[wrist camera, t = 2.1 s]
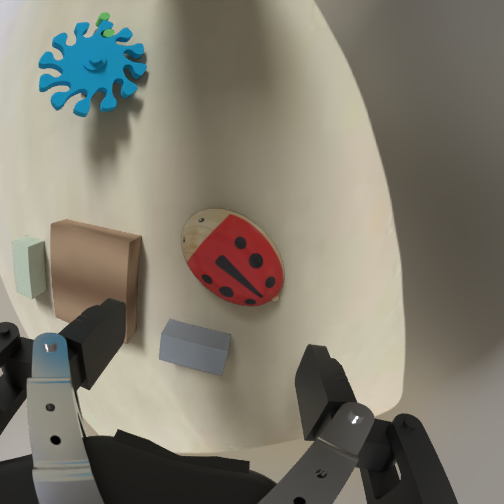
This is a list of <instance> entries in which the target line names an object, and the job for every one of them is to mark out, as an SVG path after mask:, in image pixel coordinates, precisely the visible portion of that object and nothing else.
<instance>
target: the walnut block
mask: <svg viewBox="0 0 504 504" xmlns="http://www.w3.org/2000/svg"><path fill="white" fill-rule="evenodd" d="M140 246H141V236H139V235H135V234H130V233H126V232H121V231H117V230H112V229H108V228H103V227H99V226H94V225H90V224H85V223H81V222H76V221H72V220H67V219H66V220H62V221H59V222H55V223H52V224H51V274H52V288H53V298H54V307H55V315H56V317H57V318H59V319H61V320H64V321H66V322H68V323H71V322H72V321H73V320H74V319H76V318H77V317H78V316H79V315H81V313H82V312H84V311H85V310H86V309H87V308H89V307H92V306H95V305H99V306H100V305H101V304H102V303H103V302H104V301H105V300H107V299H108V298H113V299H116V300H119V301H122V302H125V304H126V335H125V340H124V342H123V343H125V344H127V343H128V342H129V340H130V339H131V337H132V336H133V335H134V333H135V332H136V314H137V287H138V270H139V257H140Z"/></svg>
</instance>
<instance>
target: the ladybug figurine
mask: <svg viewBox="0 0 504 504" xmlns="http://www.w3.org/2000/svg"><path fill="white" fill-rule="evenodd" d="M181 246H182V251H183V254H184V257H185V260H186V262H187V264H188V266H189V268H190V270H191V271H192V272H193V274H194V275H195V276H196V278H197V279H198V280H199V281H200V282H201V283H202V284H203V285H204V286H205V287H206V288H208V289H209V290H210V291H211V292H213V293H214V294H216V295H217V296H219V297H221V298H222V299H224V300H227V301H229V302H231V303H234V304H238V305H244V306H258V305H262V304H265V303H267V302H269V301H272V302H276V301H277V300H278V299H279V291H280V290H281V288H282V285H283V282H284V265H283V261H282V258H281V255H280V253H279V251H278V249H277V247H276V246H275V244H274V243H273V241H272V240H271V239H270V237H269V236H268V235H267V234H266V233H265V232H264V231H263V230H262V229H261V228H260V227H259V226H258V225H256V224H255V223H254V222H252V221H251V220H249V219H248V218H246V217H244V216H242V215H240V214H238V213H235V212H233V211H229V210H225V209H206V210H202V211H199V212H197V213H195V214H194V215H193V216H191V217H190V218H189V220H188V221H187V222H186V224H185V226H184V228H183V230H182V236H181Z"/></svg>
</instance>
